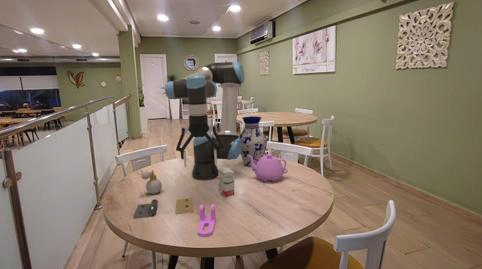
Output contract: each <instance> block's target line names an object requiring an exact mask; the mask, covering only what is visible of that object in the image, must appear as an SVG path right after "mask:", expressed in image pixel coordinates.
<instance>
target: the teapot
mask: <svg viewBox="0 0 482 269" xmlns="http://www.w3.org/2000/svg"><path fill="white" fill-rule="evenodd" d="M247 156H248V157H249V158H250V161H251V167H250V168H251V170H252V171H253V172H254V174H255V175H256V177H257V178H259V179H260V183H264V182H266V181H272V183H278V182H279V181H278V180H279V179H281V178H282V177H283V175H284V174H285V175H286V174H288V172H289V170H288V168H286V167H287V160H286V159H285V158H278V157H277V156H275V155H272V153H267V154H265V155H264V156H263V157H261V158H260V159H259V161H258V162H257V164H256V165H255V164H254V161H253V157H252V156H250V155H247ZM281 161H282V162H284V163H283V164H282V162H281Z"/></svg>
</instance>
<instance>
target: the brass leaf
mask: <svg viewBox="0 0 482 269" xmlns="http://www.w3.org/2000/svg"><path fill="white" fill-rule="evenodd" d="M193 203H194V201H193V197H188V198H181V199H179V198H178V199H175V214H176V215H181V214H182V215H183V214H190V213H194V204H193Z"/></svg>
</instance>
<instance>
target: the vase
mask: <svg viewBox="0 0 482 269" xmlns="http://www.w3.org/2000/svg"><path fill="white" fill-rule="evenodd" d="M241 119H242V121H243V123H244V129H243V131H242V132H241V133H240V134H238V135H239V138H240V139H241V141H242V147H241V152H240V157H241V159H242V162H243V165H244V166H245V167H249V166H251V161H250V158H249V157H248V156H247V155H250V156H252V157H253V161H254V164H255V165H256V164H257V162H258V161H259V159H260V158H261V157H263V156H265V153H266V149H267V146H268V138H267V136H266V135H265V134H264V133H263V131H262V130H261V129H260V122H261V120H262V117H261V116H243V117H242V118H241Z"/></svg>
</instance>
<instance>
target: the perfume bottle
mask: <svg viewBox="0 0 482 269" xmlns="http://www.w3.org/2000/svg"><path fill="white" fill-rule="evenodd" d="M141 178H142V179H143V180H148V179H149V180H148V181H147V182H146V184H145V190H146V192H148V194H153V195H155V194H158V193H159V192H160V191H161V190H162V188H163V184H162V181H161V180H160V179H159V178H157V175H156V174H155V172H154V170H153V169H151V172H150V171H144V172H142V173H141Z"/></svg>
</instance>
